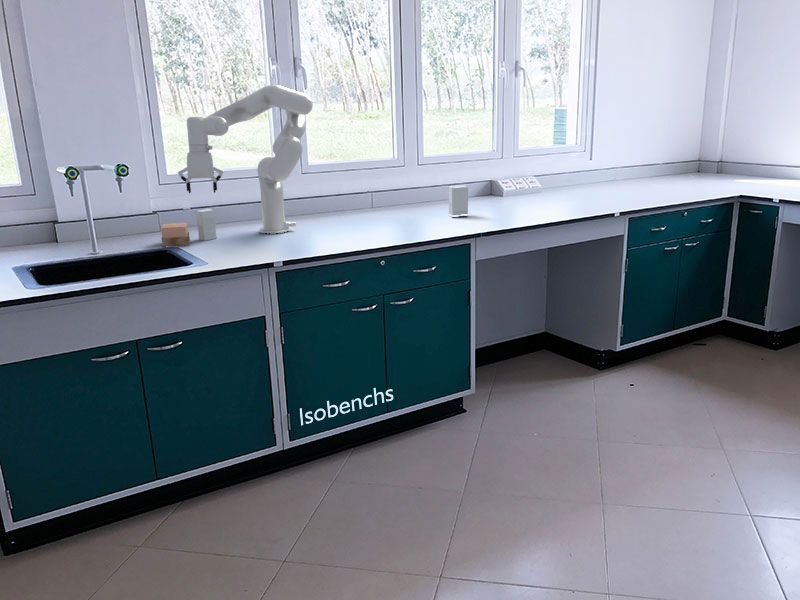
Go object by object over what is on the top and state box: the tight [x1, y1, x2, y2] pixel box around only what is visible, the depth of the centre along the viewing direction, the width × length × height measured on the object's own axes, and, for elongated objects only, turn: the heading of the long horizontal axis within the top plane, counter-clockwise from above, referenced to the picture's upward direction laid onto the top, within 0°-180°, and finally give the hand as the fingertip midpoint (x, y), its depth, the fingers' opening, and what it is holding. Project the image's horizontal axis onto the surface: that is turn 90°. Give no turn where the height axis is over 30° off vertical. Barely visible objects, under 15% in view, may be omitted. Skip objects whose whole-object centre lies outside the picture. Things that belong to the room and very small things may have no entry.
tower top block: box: [160, 222, 189, 239], centre depth 260 cm, size 9×9×4 cm
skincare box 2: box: [448, 184, 469, 215], centre depth 315 cm, size 8×6×15 cm
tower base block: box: [161, 231, 191, 248], centre depth 261 cm, size 10×10×4 cm
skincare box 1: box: [195, 208, 218, 242], centre depth 268 cm, size 6×4×12 cm
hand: (202, 192), depth 264 cm, fingers open, 9 cm apart
